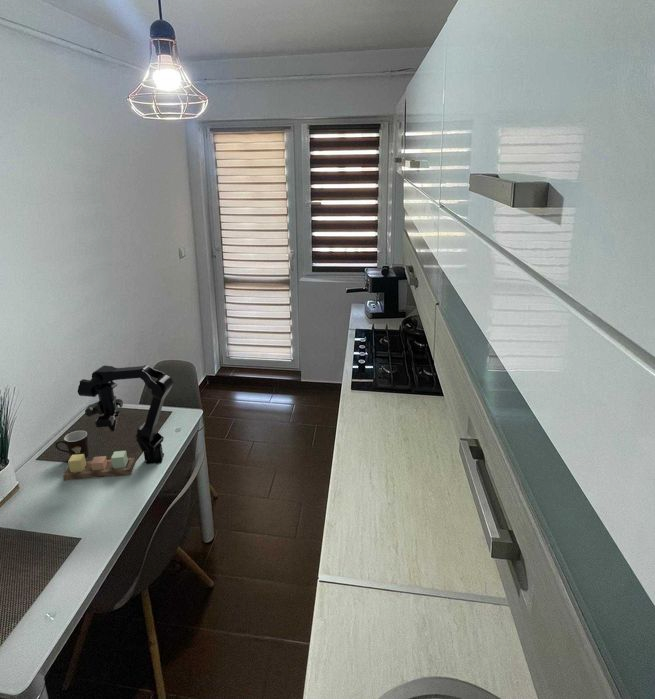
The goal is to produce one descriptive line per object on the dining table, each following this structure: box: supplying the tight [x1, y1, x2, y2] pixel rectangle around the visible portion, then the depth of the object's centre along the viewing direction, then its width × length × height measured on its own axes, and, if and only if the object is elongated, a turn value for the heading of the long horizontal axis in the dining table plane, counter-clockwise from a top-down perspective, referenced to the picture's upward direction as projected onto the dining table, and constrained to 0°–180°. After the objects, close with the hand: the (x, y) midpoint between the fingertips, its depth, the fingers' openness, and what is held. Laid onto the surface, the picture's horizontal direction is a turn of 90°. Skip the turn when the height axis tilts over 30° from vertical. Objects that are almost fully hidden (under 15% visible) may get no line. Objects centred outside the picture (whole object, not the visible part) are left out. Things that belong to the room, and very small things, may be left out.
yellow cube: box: [67, 454, 87, 472], centre depth 194 cm, size 5×5×5 cm
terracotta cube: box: [90, 455, 108, 471], centre depth 195 cm, size 5×5×5 cm
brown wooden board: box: [62, 457, 137, 482], centre depth 196 cm, size 25×9×2 cm, turn 98°
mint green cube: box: [110, 450, 129, 469], centre depth 196 cm, size 5×5×5 cm
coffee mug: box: [55, 430, 90, 459], centre depth 204 cm, size 12×9×10 cm
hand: (113, 430), depth 202 cm, fingers closed
